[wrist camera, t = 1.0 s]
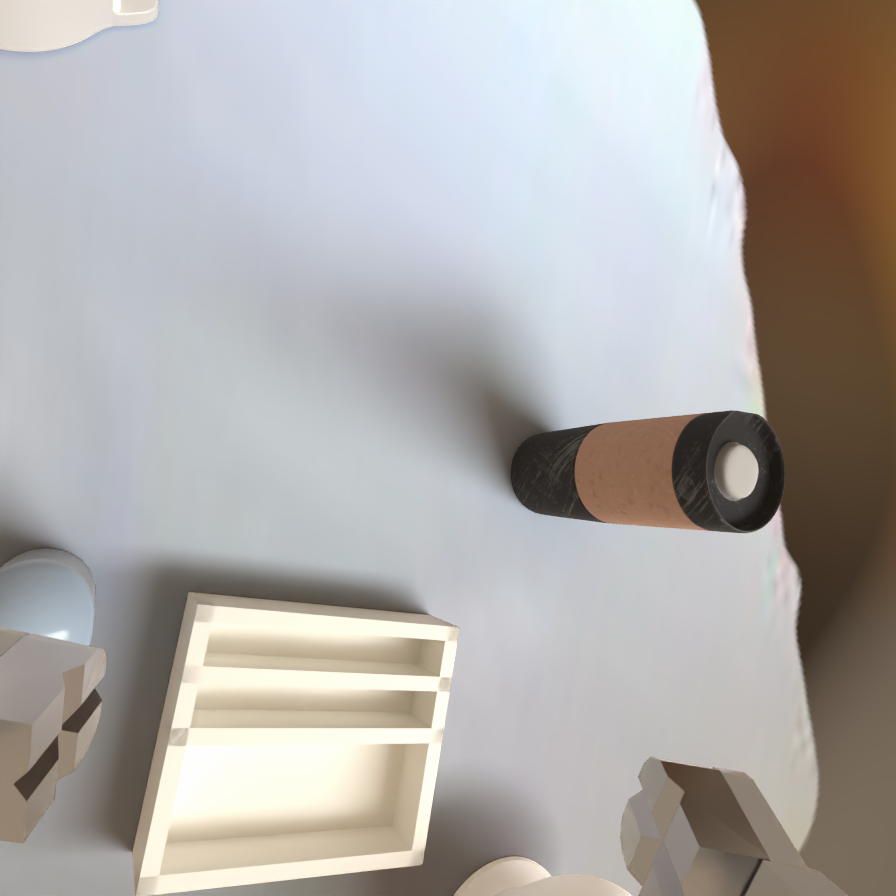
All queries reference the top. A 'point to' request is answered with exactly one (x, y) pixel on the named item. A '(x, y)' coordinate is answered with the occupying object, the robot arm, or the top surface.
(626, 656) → the top surface
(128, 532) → the top surface
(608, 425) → the travel mug
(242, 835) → the compartment tray
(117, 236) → the top surface
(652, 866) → the robot arm
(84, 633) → the grey cylinder
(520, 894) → the decorative vase
